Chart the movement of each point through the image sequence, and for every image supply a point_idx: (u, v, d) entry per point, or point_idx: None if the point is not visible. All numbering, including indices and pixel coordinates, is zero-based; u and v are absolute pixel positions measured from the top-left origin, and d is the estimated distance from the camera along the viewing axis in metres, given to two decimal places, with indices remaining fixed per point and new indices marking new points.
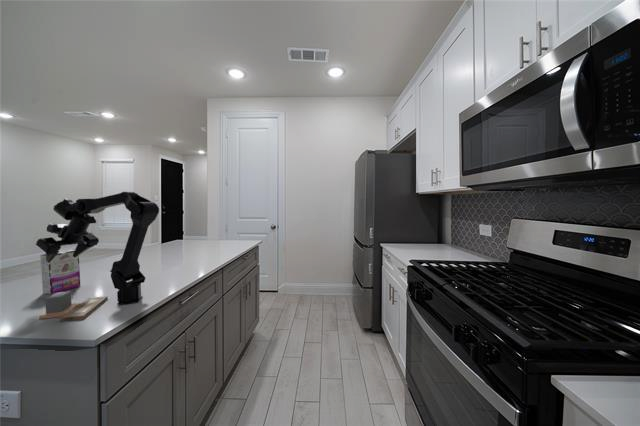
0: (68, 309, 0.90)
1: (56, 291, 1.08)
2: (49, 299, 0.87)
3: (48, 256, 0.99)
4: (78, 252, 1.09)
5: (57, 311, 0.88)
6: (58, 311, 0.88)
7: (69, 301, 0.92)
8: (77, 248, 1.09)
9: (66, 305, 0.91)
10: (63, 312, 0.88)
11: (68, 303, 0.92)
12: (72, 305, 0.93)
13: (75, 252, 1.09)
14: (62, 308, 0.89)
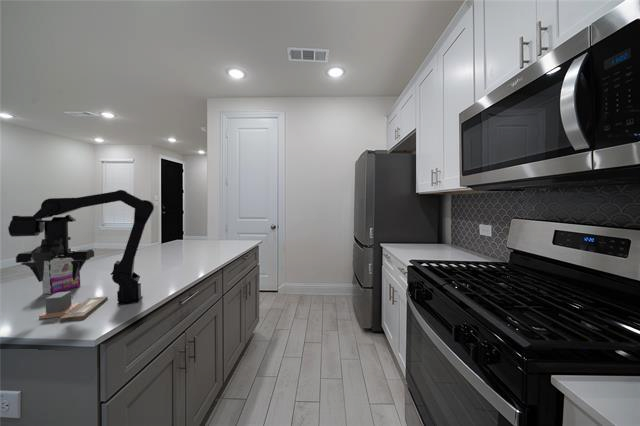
0: (68, 309, 0.90)
1: (56, 291, 1.08)
2: (49, 299, 0.87)
3: (78, 270, 0.92)
4: (42, 272, 0.89)
5: (57, 311, 0.88)
6: (58, 311, 0.88)
7: (69, 301, 0.92)
8: (38, 270, 0.88)
9: (66, 305, 0.91)
10: (63, 312, 0.88)
11: (68, 303, 0.92)
12: (72, 305, 0.93)
13: (40, 276, 0.88)
14: (62, 308, 0.89)
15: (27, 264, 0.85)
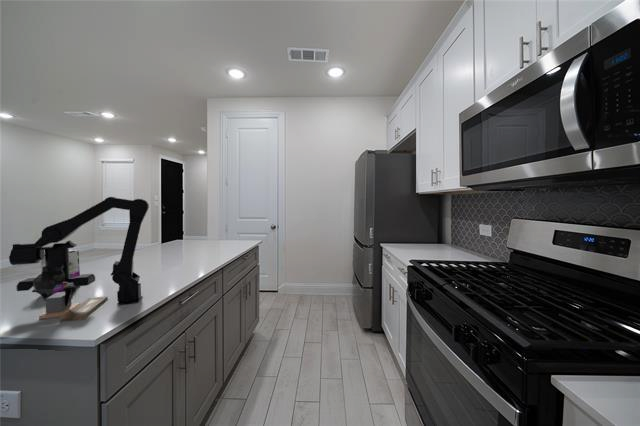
0: (68, 309, 0.90)
1: (56, 291, 1.08)
2: (49, 299, 0.87)
3: (71, 296, 0.91)
4: None
5: (57, 311, 0.88)
6: (58, 311, 0.88)
7: None
8: None
9: None
10: (63, 312, 0.88)
11: None
12: (72, 305, 0.93)
13: None
14: (62, 308, 0.89)
15: (38, 291, 0.86)
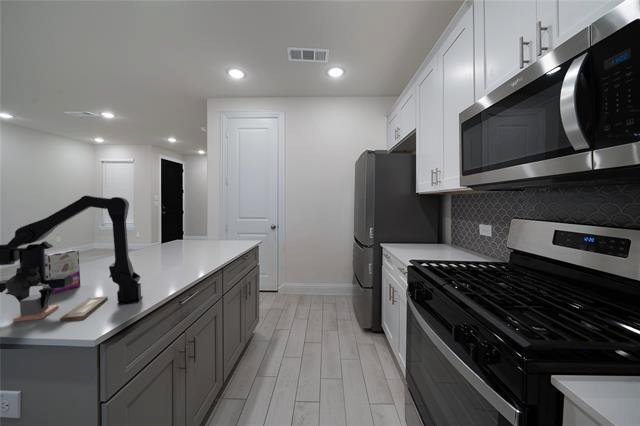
0: (44, 311, 0.88)
1: (56, 291, 1.08)
2: (24, 301, 0.85)
3: (47, 298, 0.89)
4: None
5: (32, 314, 0.85)
6: (33, 314, 0.86)
7: None
8: (24, 298, 0.87)
9: None
10: (38, 314, 0.86)
11: None
12: (49, 307, 0.91)
13: None
14: (38, 310, 0.86)
15: (12, 293, 0.84)
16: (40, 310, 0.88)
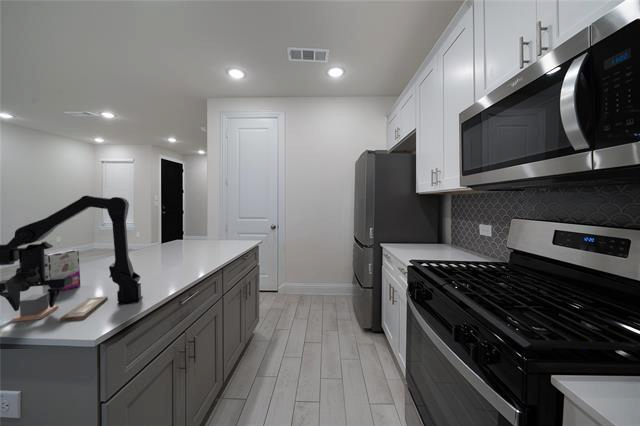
0: (44, 311, 0.88)
1: None
2: (23, 301, 0.85)
3: (56, 297, 0.90)
4: (18, 301, 0.87)
5: (32, 314, 0.85)
6: (33, 314, 0.86)
7: (46, 303, 0.90)
8: (14, 299, 0.86)
9: (42, 307, 0.89)
10: (38, 314, 0.86)
11: (45, 306, 0.90)
12: (49, 307, 0.91)
13: (16, 305, 0.86)
14: (37, 311, 0.86)
15: (2, 294, 0.83)
16: (40, 310, 0.88)
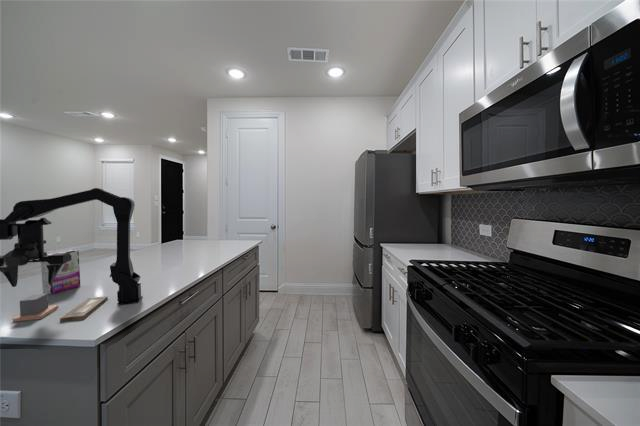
0: (44, 311, 0.88)
1: (56, 291, 1.08)
2: (23, 301, 0.85)
3: (54, 274, 0.90)
4: (16, 277, 0.87)
5: (32, 314, 0.85)
6: (33, 314, 0.86)
7: (46, 303, 0.90)
8: (12, 275, 0.85)
9: (42, 307, 0.89)
10: (38, 314, 0.86)
11: (45, 306, 0.90)
12: (49, 307, 0.91)
13: (14, 281, 0.86)
14: (37, 311, 0.86)
15: None
16: (40, 310, 0.88)
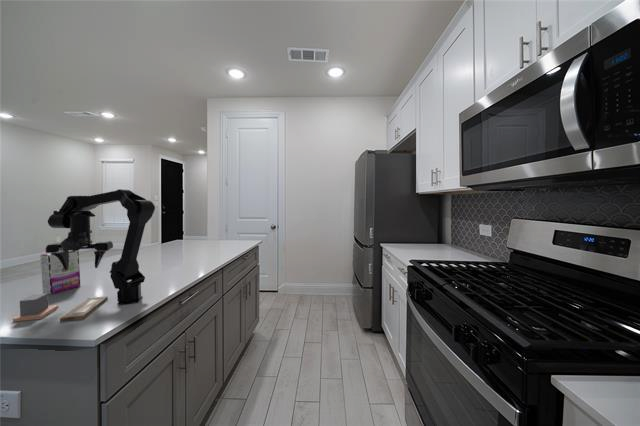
0: (44, 311, 0.88)
1: (56, 291, 1.08)
2: (23, 301, 0.85)
3: (99, 259, 1.03)
4: (67, 261, 1.01)
5: (32, 314, 0.85)
6: (33, 314, 0.86)
7: (46, 303, 0.90)
8: (65, 259, 0.99)
9: (42, 307, 0.89)
10: (38, 314, 0.86)
11: (45, 306, 0.90)
12: (49, 307, 0.91)
13: (66, 265, 1.00)
14: (37, 311, 0.86)
15: (55, 254, 0.96)
16: (40, 310, 0.88)
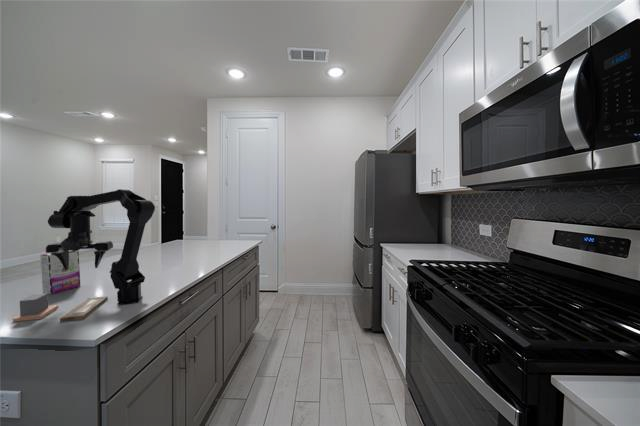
0: (44, 311, 0.88)
1: (56, 291, 1.08)
2: (23, 301, 0.85)
3: (99, 259, 1.03)
4: (68, 261, 1.01)
5: (32, 314, 0.85)
6: (33, 314, 0.86)
7: (46, 303, 0.90)
8: (65, 259, 0.99)
9: (42, 307, 0.89)
10: (38, 314, 0.86)
11: (45, 306, 0.90)
12: (49, 307, 0.91)
13: (66, 265, 1.00)
14: (37, 311, 0.86)
15: (56, 254, 0.96)
16: (40, 310, 0.88)
